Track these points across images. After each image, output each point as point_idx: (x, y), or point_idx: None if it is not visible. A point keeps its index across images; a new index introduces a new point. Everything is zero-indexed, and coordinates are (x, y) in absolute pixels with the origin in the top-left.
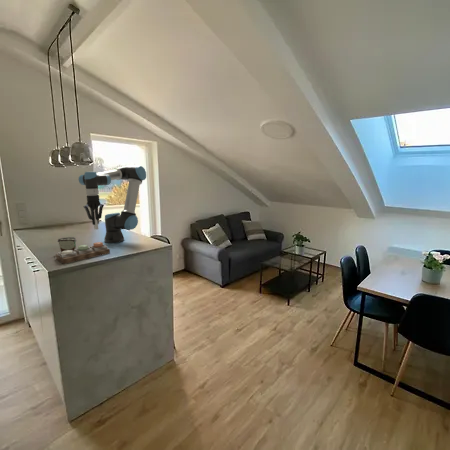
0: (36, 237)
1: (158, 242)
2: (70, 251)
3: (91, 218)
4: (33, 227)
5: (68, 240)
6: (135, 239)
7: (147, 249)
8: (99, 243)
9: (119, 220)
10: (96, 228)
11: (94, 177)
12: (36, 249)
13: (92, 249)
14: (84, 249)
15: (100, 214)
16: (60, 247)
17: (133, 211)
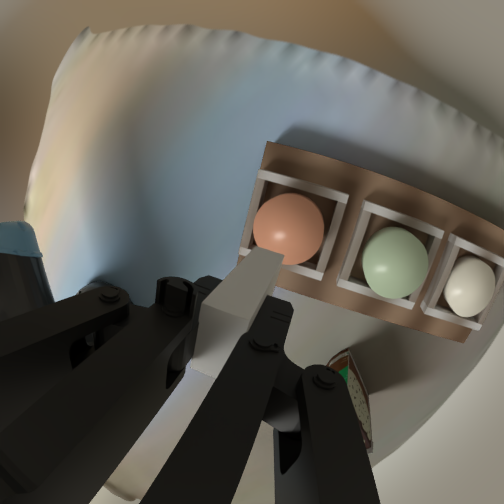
0: None
1: (50, 113)
2: (470, 270)
3: (322, 379)
4: None
5: (357, 415)
6: (59, 248)
7: (135, 43)
8: (289, 211)
9: (14, 308)
10: (274, 257)
11: None
12: None
13: (365, 200)
14: (408, 231)
15: (51, 325)
16: (369, 414)
17: None
